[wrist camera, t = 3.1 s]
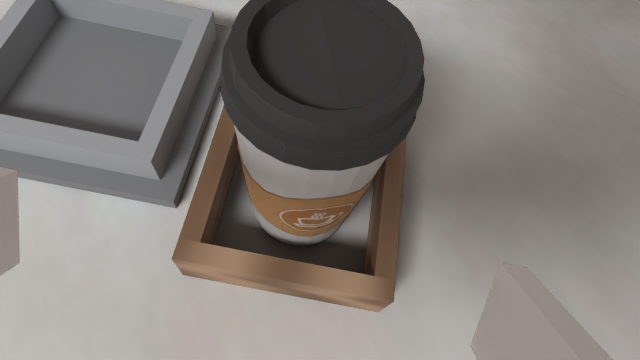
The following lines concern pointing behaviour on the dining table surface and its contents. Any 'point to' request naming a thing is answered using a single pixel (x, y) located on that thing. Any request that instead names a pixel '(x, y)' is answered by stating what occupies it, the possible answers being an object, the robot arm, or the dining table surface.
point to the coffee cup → (318, 105)
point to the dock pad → (107, 93)
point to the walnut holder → (285, 274)
